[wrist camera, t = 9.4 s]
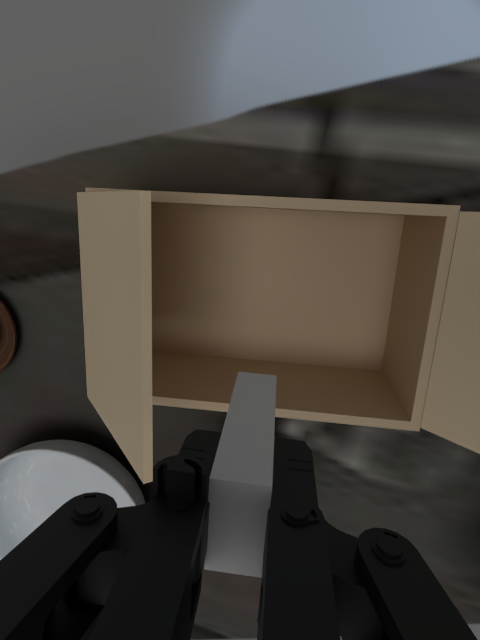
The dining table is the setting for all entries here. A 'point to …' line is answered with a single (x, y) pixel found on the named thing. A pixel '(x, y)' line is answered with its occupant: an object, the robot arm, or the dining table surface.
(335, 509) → the dining table surface
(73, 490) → the serving bowl
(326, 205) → the carton
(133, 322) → the flap
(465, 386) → the flap
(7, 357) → the cup and saucer
